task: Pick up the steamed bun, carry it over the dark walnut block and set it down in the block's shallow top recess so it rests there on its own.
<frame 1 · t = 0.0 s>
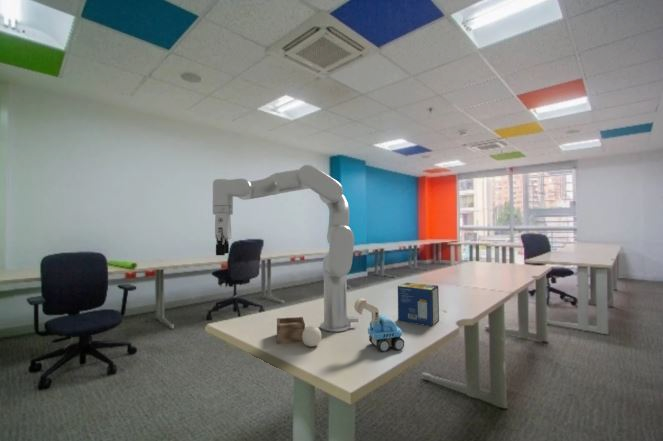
hand: (222, 254, 120), 31 cm above the table, tool pointing down, fingers open, 9 cm apart
toy excavator: (378, 348, 105), on the table
steamed bun: (311, 346, 108), on the table
walnut block: (290, 338, 115), on the table
protein box: (418, 321, 136), on the table
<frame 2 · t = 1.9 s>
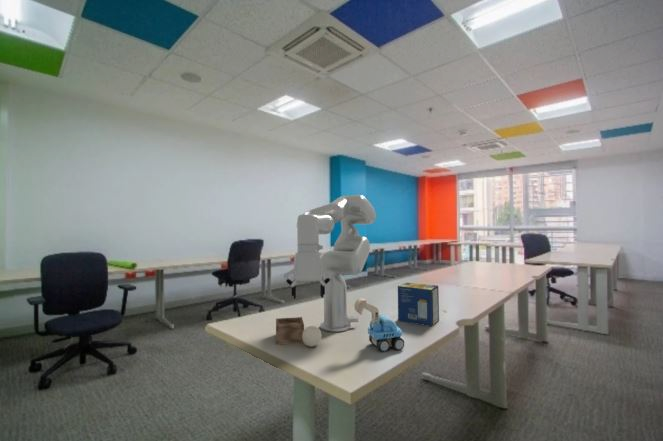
hand: (308, 297, 109), 17 cm above the table, tool pointing down, fingers open, 9 cm apart
nothing on the table moved.
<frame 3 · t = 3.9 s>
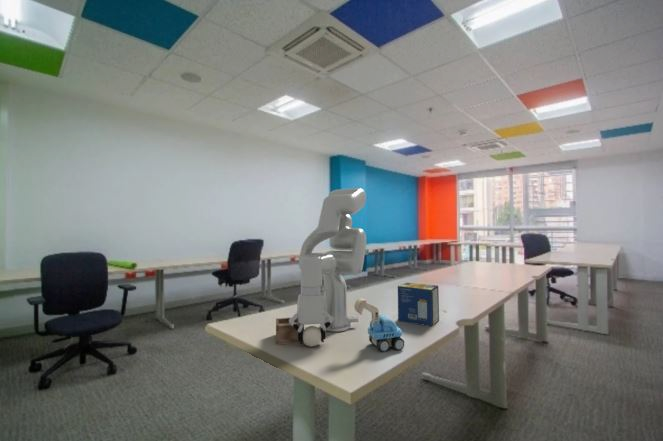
hand: (311, 341, 108), 1 cm above the table, tool pointing down, fingers closed on steamed bun, 6 cm apart
steamed bun: (311, 346, 108), on the table, touching gripper
everything else where it was.
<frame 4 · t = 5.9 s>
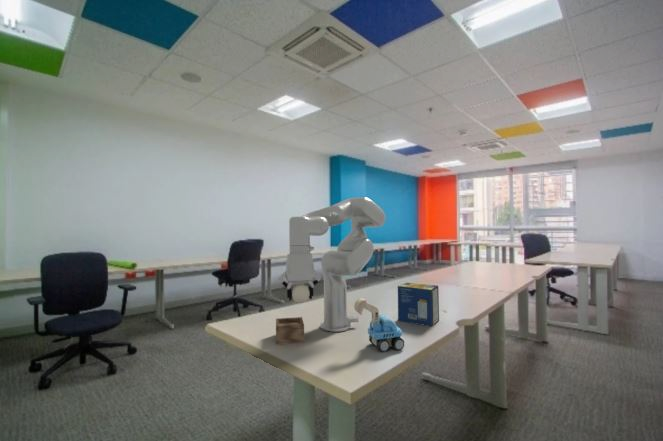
hand: (300, 298, 112), 15 cm above the table, tool pointing down, fingers closed on steamed bun, 6 cm apart
steamed bun: (300, 302, 112), point 14 cm above the table, touching gripper
everything else where it was.
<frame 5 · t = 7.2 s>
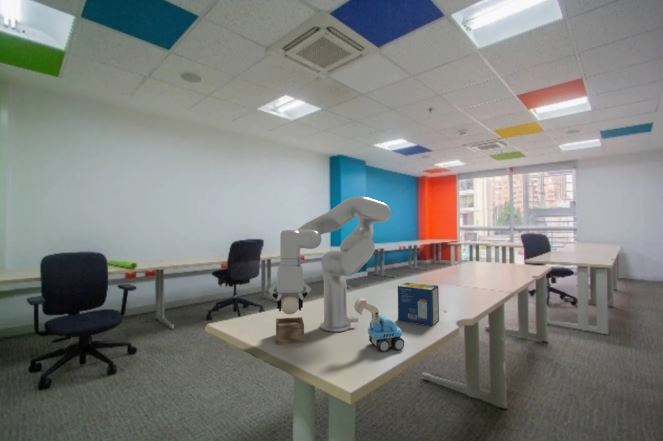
hand: (289, 309, 115), 11 cm above the table, tool pointing down, fingers closed on steamed bun, 6 cm apart
steamed bun: (290, 314, 115), point 9 cm above the table, touching gripper
everything else where it was.
when the fingers open (8 cm above the table, at t = 8.1 s): steamed bun drops 2 cm, resting on walnut block.
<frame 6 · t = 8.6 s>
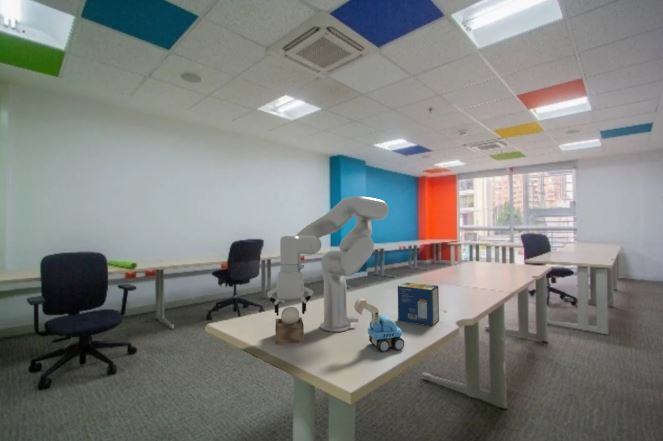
hand: (290, 314, 116), 9 cm above the table, tool pointing down, fingers open, 9 cm apart
steamed bun: (290, 325, 115), point 5 cm above the table, touching walnut block
walnut block: (289, 339, 115), on the table, touching steamed bun
everything else where it was.
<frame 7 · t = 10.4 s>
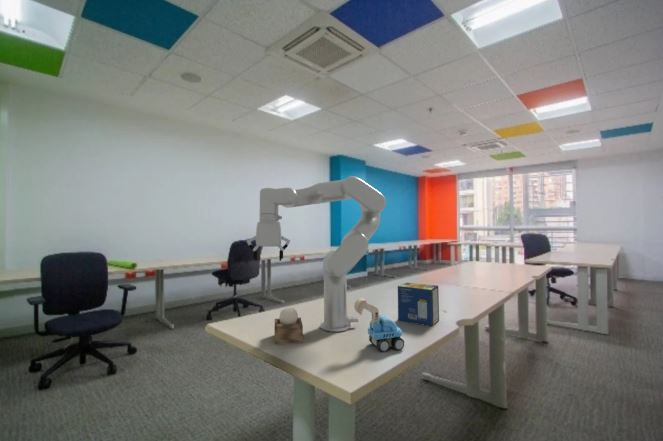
hand: (268, 260, 124), 28 cm above the table, tool pointing down, fingers open, 9 cm apart
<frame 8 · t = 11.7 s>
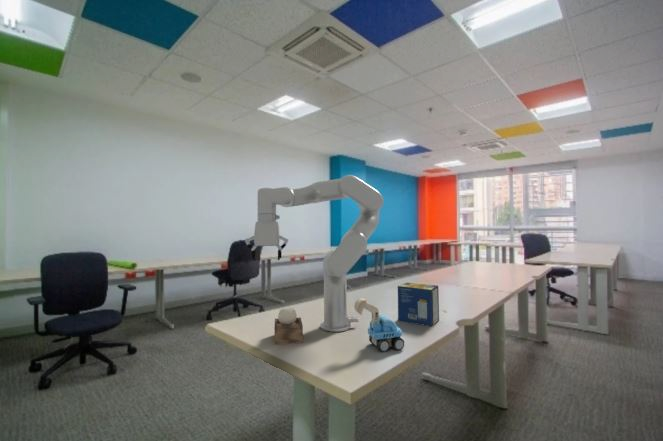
hand: (266, 260, 125), 28 cm above the table, tool pointing down, fingers open, 9 cm apart
at the end: steamed bun 0.1 cm off-centre on the walnut block, point 5.0 cm above the walnut block's base; steamed bun touching walnut block; the gripper is holding nothing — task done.
